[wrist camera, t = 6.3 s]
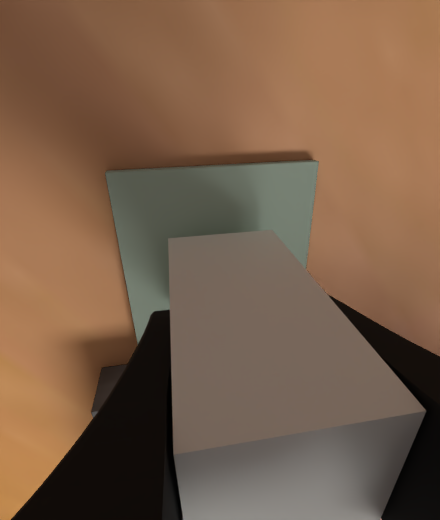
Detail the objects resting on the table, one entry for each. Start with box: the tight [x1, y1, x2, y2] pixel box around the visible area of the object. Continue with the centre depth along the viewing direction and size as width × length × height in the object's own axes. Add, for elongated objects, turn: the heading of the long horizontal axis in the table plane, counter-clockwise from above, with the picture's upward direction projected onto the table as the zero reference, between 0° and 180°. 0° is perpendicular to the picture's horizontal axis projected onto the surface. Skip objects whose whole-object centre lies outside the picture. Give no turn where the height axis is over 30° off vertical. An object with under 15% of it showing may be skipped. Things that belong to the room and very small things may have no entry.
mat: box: [105, 160, 319, 343], centre depth 13 cm, size 8×8×1 cm
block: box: [168, 230, 426, 520], centre depth 9 cm, size 4×4×8 cm
